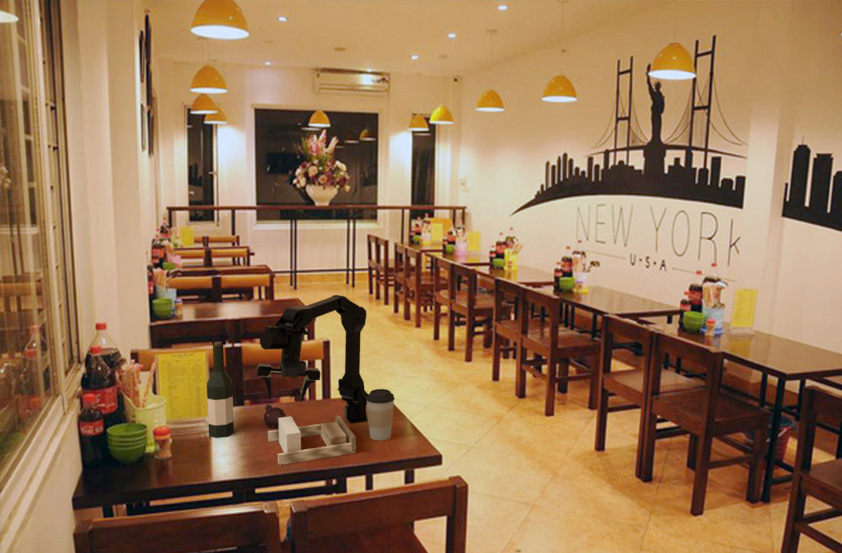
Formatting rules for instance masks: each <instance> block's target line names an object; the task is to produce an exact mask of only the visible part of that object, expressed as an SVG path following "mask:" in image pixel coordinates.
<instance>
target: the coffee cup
mask: <svg viewBox="0 0 842 553" xmlns="http://www.w3.org/2000/svg"><path fill="white" fill-rule="evenodd" d="M366 400H367V405H366V416H367V419H368V420H367V422H368V423H367V425H368V432H369V437H370V439H372V440H374V441H385V440H388V439H390V438H391V437H392V427H393V418H394V410H395V409H394V408H395V404H394V402H395V395H394V394H393V393H392V391H391V390H390V389H385V388H376V389H372V390H371V391H369V393H368V395H367V398H366Z"/></svg>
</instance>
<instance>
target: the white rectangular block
mask: <svg viewBox="0 0 842 553" xmlns="http://www.w3.org/2000/svg"><path fill="white" fill-rule="evenodd" d="M278 419H279V427H278V430H279V440H278V443H279V444H280V447H281V449H282V451H283V453H286V452H292V451H299V450H302V440H301V439H302V437H301V432H300V431H299V429H298V427H299V426H297V423H296V422H295V420H294V418H293V417H292V416H286V417H282V418H278Z"/></svg>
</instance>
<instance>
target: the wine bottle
mask: <svg viewBox="0 0 842 553" xmlns="http://www.w3.org/2000/svg"><path fill="white" fill-rule="evenodd" d="M222 342H223V341H215V342H214V344H213V345H212V357H213V358H212V360H213V371H212V373H211V375H210V377H209V379H208V380H207V382H206V397H207V399H206V400H207V401H206V402H207V424H208V426H207V427H208V437H210V436H211V438H215V439H219V438H220V439H221V437H222V438H227V437H229V436H232V435H234V434H235V424H234V423H235V422H234V396H233V380H232V378H231V377H230V376H229V374H228V373H227V372H226V370H225V357H224V356H225V354H224V353H225V351H224V344H223V343H222Z"/></svg>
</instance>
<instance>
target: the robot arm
mask: <svg viewBox="0 0 842 553" xmlns="http://www.w3.org/2000/svg"><path fill="white" fill-rule="evenodd" d="M332 312H336V313H337V314H338V315H339V316H340V321H341V322H340V323H341V325H342V327H343V329H344V331H345V345H344V346H345V350H344V352H345V353H344V354H345V355H344V358H345V359H344V362H345V363H344V374H343V376H342V377H341V378H338V381H337V382H338V387H337V391H338V392H339V396H340V397H341V400H342V401H343V402H345V406H344V418H345V419H346V421H347V422H348V423H349V424H352V423H353V424H354V423H361V422H368V417H367V400H366V398H367V395H368V394H369V393H368V392H367V391H366V389H365V383H364V382H365V381H364V379H363V378H362V376H361V374H360V371H361V369H360V368H361V367H360V366H361V335H362V334H361V332H362V331H363V329H364V327H365V326H366V320H367V316H368V315H367V310H366V309H365V307H364V306H360V305H358V304H356V303H355V302H353V301H351V300H350V299H349V298H347V297H346V296H344V295H338V294H334V295H331V296H330V297H327V298H324V299H322V300H319V301H316V302H314V303H311V304H308V305H294V306H287V307H286V308H284V311H283V313H282V315H281V316H280V317H279V319H278V320H277V321H276V323H275V324H274V325H273V326H271V325H267V326H265V330H263V331H262V333H261V335H260V336H259V345H260V347H261V349H263V350H264V351H265V350H266V351H267V350H270V351H272V350H274V351H275V350H281V352H280V353H281V354H280V362H279V367H272V364H267V363H259V364H257V366H256V376H259V377H260V379H262V380H264V382H265V383H264V384H265V385H266V388H267V389H266V390H267V395H268V399H269V400H271V398H272V376H271V375H272V374H273V375H281V377H283V378H293V379H297V378H298V377H299V376H300V377H304V378H303V383H302V388H301V391H300V396H299V397H300V398H299V401H300V402H302V401H303V399H304V396H305V395H306V393H307V391H308V389H309V387H310V386H311V384H312V383H313V384H314V383H315V384H316V381H321V374H322V373H321V370H320V369H319V368H315V367H307V361H302V360H301V354H302V353H301V352H302V346H303V345H302V344H303V336H309V331H308V330H307V329H306V328H305V327H307V326H308V325H310V324H311V323H312V322H313V320H314V319H316V318H319V317H322V316H325V315H327V314H329V313H332Z"/></svg>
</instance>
